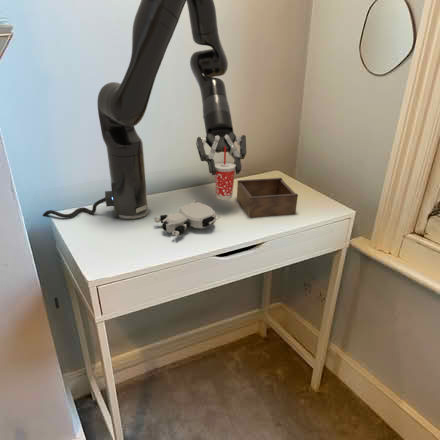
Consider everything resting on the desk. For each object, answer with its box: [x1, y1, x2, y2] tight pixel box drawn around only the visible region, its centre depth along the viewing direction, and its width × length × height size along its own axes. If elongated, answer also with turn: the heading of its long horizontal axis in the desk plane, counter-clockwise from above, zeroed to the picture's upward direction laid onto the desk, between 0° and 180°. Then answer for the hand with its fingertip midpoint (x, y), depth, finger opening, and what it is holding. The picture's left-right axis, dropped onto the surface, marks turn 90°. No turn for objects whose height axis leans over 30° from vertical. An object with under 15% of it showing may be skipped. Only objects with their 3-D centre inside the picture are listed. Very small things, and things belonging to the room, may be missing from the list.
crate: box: [236, 177, 299, 218], centre depth 127 cm, size 14×14×6 cm
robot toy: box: [153, 199, 223, 237], centre depth 115 cm, size 12×4×15 cm
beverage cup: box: [214, 146, 236, 201], centre depth 119 cm, size 6×6×14 cm
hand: (226, 173), depth 118 cm, fingers closed on beverage cup, 6 cm apart
